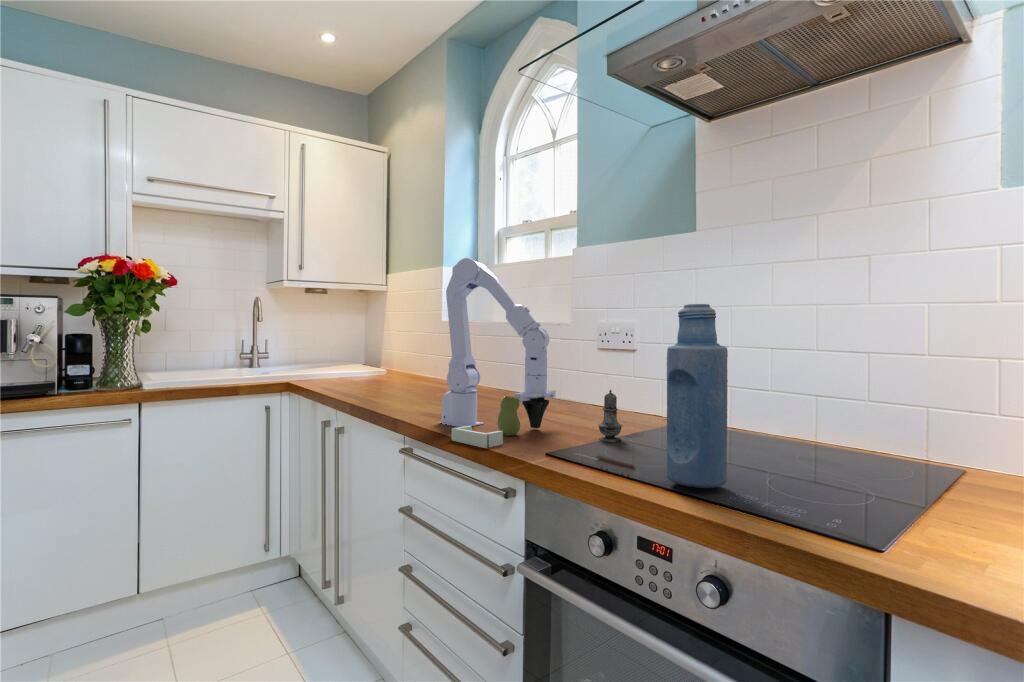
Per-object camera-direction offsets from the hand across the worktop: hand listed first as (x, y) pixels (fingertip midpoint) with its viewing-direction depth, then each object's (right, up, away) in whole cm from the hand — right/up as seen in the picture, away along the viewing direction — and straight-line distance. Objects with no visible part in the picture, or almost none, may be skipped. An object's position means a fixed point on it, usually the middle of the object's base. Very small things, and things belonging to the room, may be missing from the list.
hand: (535, 427), depth 138 cm
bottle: (+25, -2, -47) cm, 53 cm away
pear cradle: (-14, -1, -16) cm, 21 cm away
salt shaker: (+17, -1, -11) cm, 20 cm away
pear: (-7, -1, -7) cm, 10 cm away
